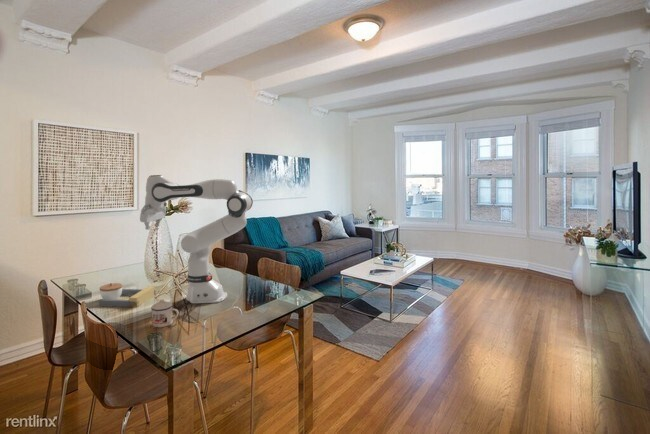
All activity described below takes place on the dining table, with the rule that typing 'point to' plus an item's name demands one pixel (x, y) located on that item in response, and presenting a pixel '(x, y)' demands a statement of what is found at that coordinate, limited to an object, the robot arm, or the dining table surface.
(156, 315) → the teacup with lid
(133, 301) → the grey and yellow tray
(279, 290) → the dining table surface
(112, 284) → the lidded jar
